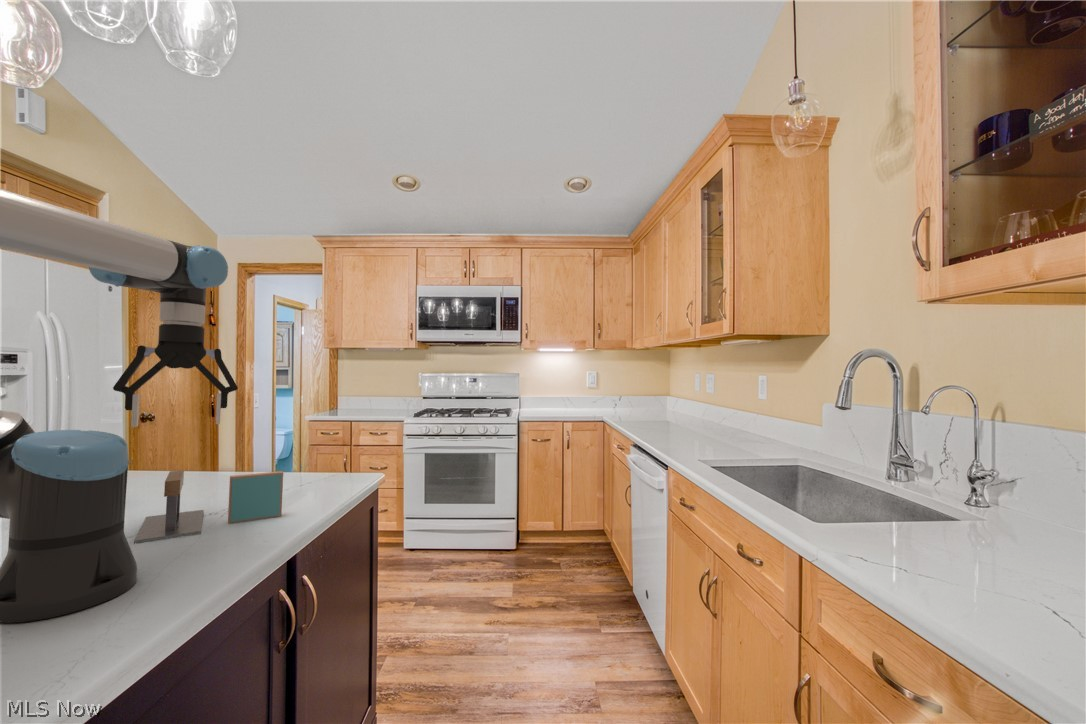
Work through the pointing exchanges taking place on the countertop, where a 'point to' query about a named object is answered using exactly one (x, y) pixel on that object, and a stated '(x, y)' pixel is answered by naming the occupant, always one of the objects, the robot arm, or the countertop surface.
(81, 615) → the countertop surface
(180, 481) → the trowel
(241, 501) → the tile
